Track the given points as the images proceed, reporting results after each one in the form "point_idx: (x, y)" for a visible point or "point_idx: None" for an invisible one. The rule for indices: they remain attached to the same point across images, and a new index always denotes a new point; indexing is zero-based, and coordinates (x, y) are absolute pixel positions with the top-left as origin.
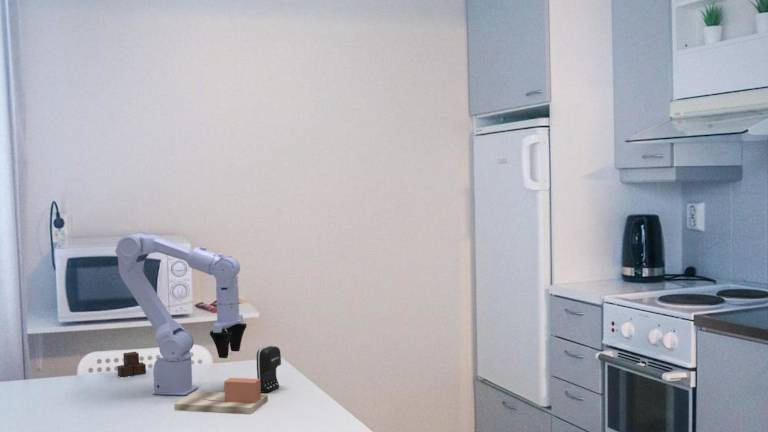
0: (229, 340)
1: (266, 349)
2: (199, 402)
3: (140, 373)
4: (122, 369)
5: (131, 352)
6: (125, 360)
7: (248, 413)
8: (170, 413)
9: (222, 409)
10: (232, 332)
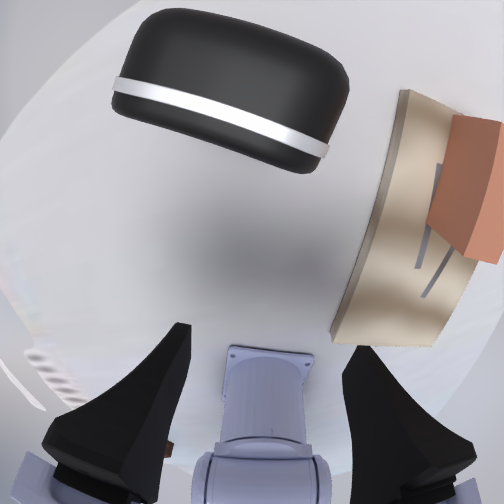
0: (407, 423)
1: (302, 80)
2: (443, 298)
3: None
4: (168, 453)
5: None
6: None
7: None
8: (445, 334)
9: None
10: (437, 466)
